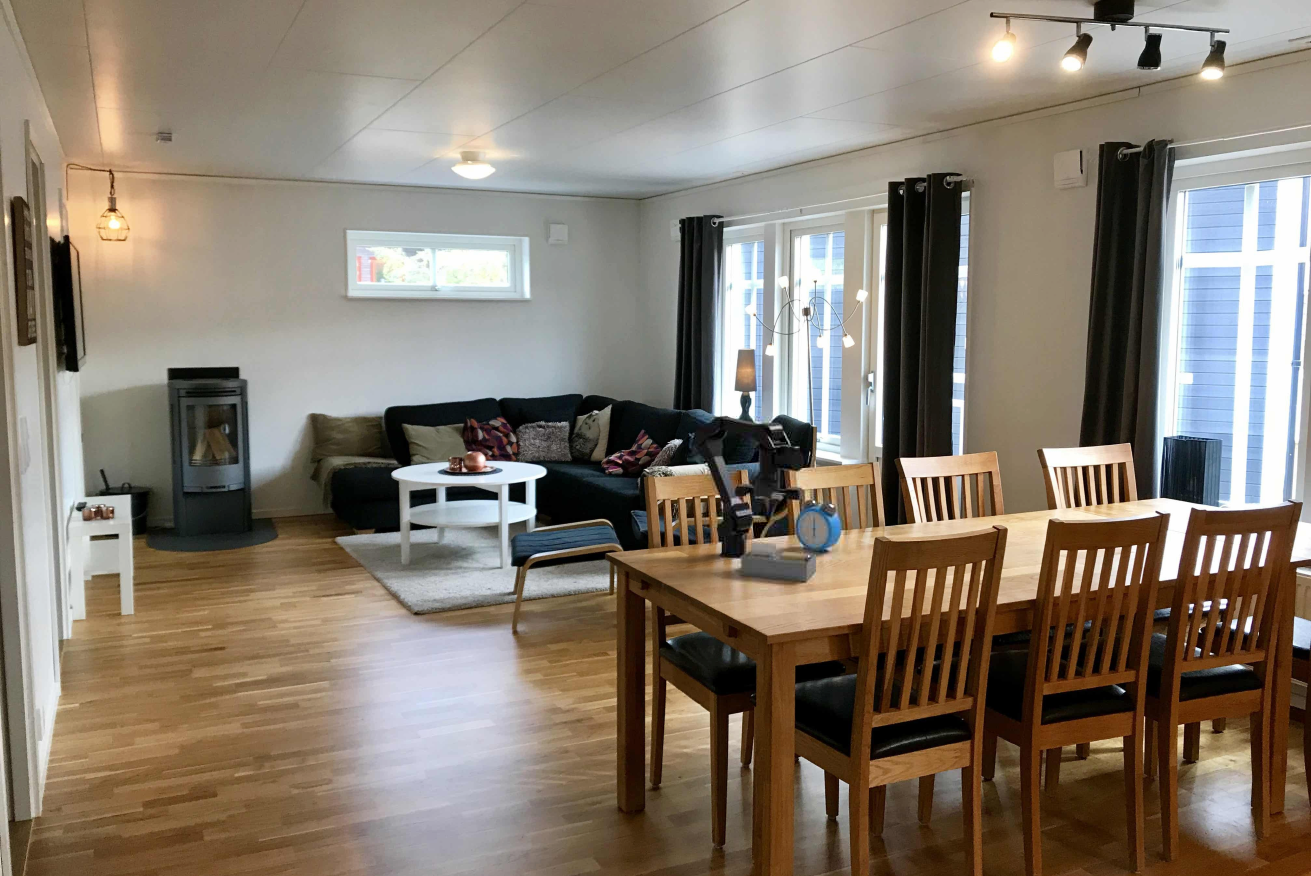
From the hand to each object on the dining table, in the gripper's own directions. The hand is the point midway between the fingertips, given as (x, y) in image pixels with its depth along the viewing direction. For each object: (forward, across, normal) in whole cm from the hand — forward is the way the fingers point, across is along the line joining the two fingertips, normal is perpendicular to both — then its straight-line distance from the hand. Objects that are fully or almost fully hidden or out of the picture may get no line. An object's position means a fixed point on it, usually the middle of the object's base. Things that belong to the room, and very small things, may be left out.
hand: (768, 521), depth 294 cm
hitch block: (+12, +6, -11) cm, 17 cm away
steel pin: (+12, +1, -11) cm, 16 cm away
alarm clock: (+12, +10, +22) cm, 27 cm away
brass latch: (+7, +11, -11) cm, 17 cm away
